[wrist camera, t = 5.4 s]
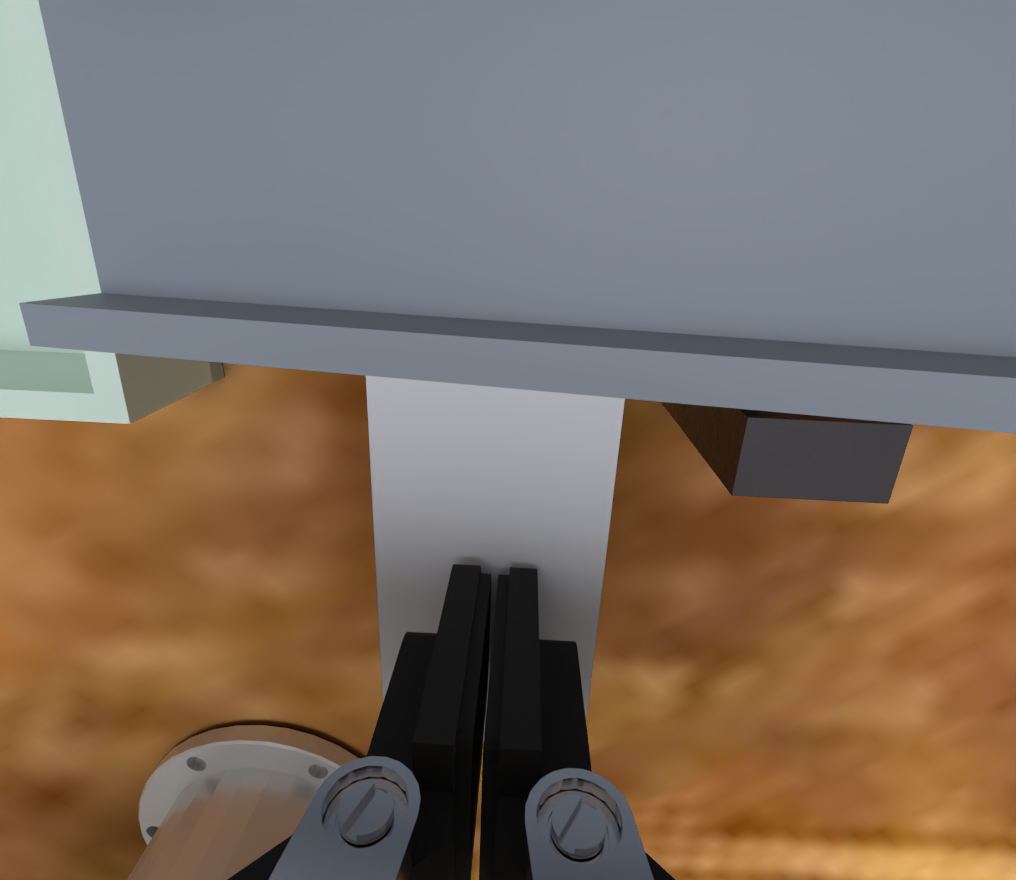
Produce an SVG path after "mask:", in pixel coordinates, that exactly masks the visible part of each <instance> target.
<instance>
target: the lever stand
mask: <svg viewBox="0 0 1016 880" xmlns="http://www.w3.org/2000/svg"><path fill="white" fill-rule="evenodd" d="M662 404H663V405H664V406H665V408H666V409H667V410H668V412H669V413H670V414H671V416H672V417H673V418H674V420H675V421H676V422H677V424H678V425H679V426H680V427H681V429H682V430H683V431H684V433H685V434H686V435H687V437H688V438H689V439H690V441H691V442H692V443H693V445H694V446H695V447H696V449H697V450H698V451H699V453H700V454H701V455H702V457H703V458H704V459H705V461H706V462H707V463H708V464H709V466H710V467H711V468H712V470H713V471H714V472H715V474H716V475H717V476H718V478H719V479H720V480H721V482H722V483H723V484H724V486H725V487H726V488H727V490H728V491H729V492H730V494H731V495H732V496H750V497H770V498H789V499H809V500H828V501H848V502H867V503H887V504H888V503H889V500H890V497H891V493H892V490H893V487H894V484H895V481H896V478H897V475H898V472H899V468H900V465H901V462H902V459H903V456H904V453H905V450H906V446H907V443H908V440H909V437H910V434H911V431H912V428H913V425H911V424H905V423H894V422H882V421H871V420H860V419H849V418H837V417H826V416H815V415H804V414H792V413H781V412H770V411H759V410H748V409H736V408H725V407H714V406H703V405H691V404H680V403H669V402H662Z"/></svg>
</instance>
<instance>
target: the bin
mask: <svg viewBox="0 0 1016 880" xmlns="http://www.w3.org/2000/svg"><path fill="white" fill-rule="evenodd" d="M97 293H101V289H100V284H99V280H98V275H97V271H96V266H95V261H94V257H93V252H92V247H91V243H90V238H89V233H88V229H87V224H86V219H85V215H84V210H83V205H82V201H81V196H80V192H79V187H78V182H77V178H76V173H75V168H74V164H73V159H72V154H71V150H70V145H69V140H68V136H67V131H66V127H65V122H64V117H63V113H62V108H61V103H60V99H59V94H58V89H57V85H56V80H55V75H54V71H53V66H52V61H51V57H50V52H49V48H48V43H47V38H46V34H45V29H44V24H43V20H42V15H41V10H40V6H39V1H38V0H0V417H6V418H26V419H45V420H65V421H85V422H105V423H125V424H130V423H132V422H135V421H137V420H139V419H141V418H143V417H145V416H147V415H149V414H151V413H153V412H155V411H157V410H159V409H161V408H163V407H165V406H167V405H169V404H171V403H173V402H175V401H177V400H179V399H181V398H183V397H185V396H187V395H189V394H191V393H193V392H195V391H197V390H199V389H201V388H203V387H205V386H207V385H209V384H211V383H213V382H215V381H217V380H219V379H221V378H223V377H224V372H223V365H222V363H219V362H208V361H197V360H186V359H174V358H163V357H152V356H141V355H129V354H118V353H107V352H96V351H84V350H73V349H62V348H51V347H39V346H30V342H29V339H28V335H27V331H26V327H25V324H24V320H23V316H22V313H21V309H20V305H19V303H23V302H31V301H40V300H48V299H56V298H64V297H73V296H81V295H89V294H97Z"/></svg>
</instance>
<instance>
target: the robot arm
mask: <svg viewBox="0 0 1016 880" xmlns="http://www.w3.org/2000/svg"><path fill="white" fill-rule="evenodd" d="M490 607H491V574H488V573H481V566H480V565H462V564H453V566H452V570H451V574H450V578H449V583H448V587H447V592H446V596H445V600H444V605H443V609H442V614H441V618H440V622H439V627H438V631H437V633H421V632H406V633H405V635H404V637H403V640H402V643H401V646H400V650H399V653H398V656H397V659H396V663H395V666H394V669H393V673H392V676H391V679H390V682H389V686H388V689H387V692H386V695H385V699H384V702H383V705H382V708H381V712H380V715H379V718H378V721H377V725H376V728H375V731H374V734H373V738H372V741H371V744H370V747H369V751H368V754H367V757H364V758H360V759H359V758H358V757H356V756H355V755H353V754H351V753H350V752H348V751H347V750H345V749H343V748H342V747H340V746H338V745H336V744H334V743H331V742H329V741H327V740H324V739H322V738H320V737H317V736H315V735H312V734H308V733H304V732H301V731H297V730H293V729H290V728H282V727H275V726H267V725H237V726H231V727H225V728H219V729H213V730H210V731H207V732H204V733H202V734H199V735H196V736H193V737H191V738H189V739H187V740H186V741H184V742H183V743H181V744H179V745H178V746H176V747H174V748H173V749H172V750H171V751H170V752H169V753H168V754H167V755H166V756H165V757H164V758H163V759H162V760H161V761H160V763H159V764H158V766H157V767H156V769H155V770H154V772H153V773H152V775H151V776H150V778H149V779H148V781H147V782H146V784H145V786H144V788H143V791H142V794H141V796H140V799H139V811H138V818H139V824H140V829H141V832H142V836H143V838H144V840H145V842H146V844H147V847H146V849H145V851H144V852H143V854H142V855H141V857H140V859H139V860H138V862H137V864H136V865H135V867H134V868H133V870H132V872H131V873H130V875H129V876H128V878H127V880H471V869H472V858H473V847H474V836H475V825H476V814H477V803H478V792H479V781H480V770H481V759H482V748H483V737H484V748H483V771H482V804H481V837H480V870H479V880H675V879H674V878H673V877H672V876H671V875H669V874H668V873H667V872H666V871H665V870H664V869H663V868H662V867H661V866H660V865H659V864H658V863H657V862H655V861H654V860H653V859H652V858H651V857H650V856H649V855H648V854H647V853H646V852H645V851H644V848H643V844H642V841H641V838H640V835H639V832H638V829H637V826H636V823H635V820H634V817H633V814H632V811H631V809H630V807H629V805H628V803H627V801H626V799H625V797H624V796H623V795H622V794H621V793H620V791H619V790H618V789H617V788H616V787H615V786H614V785H613V784H612V783H611V782H609V781H608V780H606V779H605V778H603V777H602V776H600V775H599V774H596V773H593V772H592V771H591V762H590V753H589V745H588V736H587V727H586V718H585V710H584V701H583V692H582V683H581V675H580V666H579V657H578V649H577V644H576V641H560V640H542V639H539V610H538V571H537V569H533V568H514V567H510V572H509V575H503V574H498V583H497V595H496V606H495V618H494V629H493V640H492V652H491V663H490V675H489V686H488V668H489V637H490ZM487 691H488V698H487ZM486 704H487V709H486ZM485 715H486V720H485ZM484 726H485V732H484Z"/></svg>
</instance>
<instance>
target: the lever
mask: <svg viewBox="0 0 1016 880" xmlns="http://www.w3.org/2000/svg"><path fill="white" fill-rule="evenodd" d="M38 1H39V6H40V10H41V15H42V20H43V24H44V29H45V34H46V38H47V43H48V48H49V52H50V57H51V61H52V66H53V71H54V75H55V80H56V85H57V89H58V94H59V99H60V103H61V108H62V113H63V117H64V122H65V127H66V131H67V136H68V140H69V145H70V150H71V154H72V159H73V164H74V168H75V173H76V178H77V182H78V187H79V192H80V196H81V201H82V205H83V210H84V215H85V219H86V224H87V229H88V233H89V238H90V243H91V247H92V252H93V257H94V261H95V266H96V271H97V275H98V280H99V284H100V289H101V293H97V294H89V295H81V296H73V297H64V298H56V299H48V300H40V301H31V302H23V303H19V305H20V309H21V313H22V316H23V320H24V324H25V327H26V331H27V335H28V339H29V342H30V346H39V347H51V348H62V349H73V350H84V351H96V352H107V353H118V354H129V355H141V356H152V357H163V358H174V359H186V360H197V361H208V362H219V363H230V364H242V365H253V366H264V367H275V368H287V369H298V370H309V371H320V372H332V373H343V374H354V375H365V376H366V389H367V408H368V427H369V446H370V465H371V484H372V503H373V522H374V541H375V560H376V579H377V598H378V617H379V636H380V655H381V675H382V694H383V702H384V699H385V695H386V692H387V689H388V686H389V682H390V679H391V676H392V673H393V669H394V666H395V663H396V659H397V656H398V653H399V650H400V646H401V643H402V640H403V637H404V635H405V633H406V632H421V633H437V631H438V627H439V622H440V618H441V614H442V609H443V605H444V600H445V596H446V592H447V587H448V583H449V578H450V574H451V570H452V566H453V564H462V565H480V566H481V573H488V574H491V607H490V637H489V668H488V686H489V675H490V663H491V652H492V640H493V629H494V618H495V606H496V595H497V583H498V574H503V575H509V572H510V567H514V568H533V569H537V571H538V610H539V639H542V640H560V641H576V644H577V649H578V657H579V666H580V675H581V683H582V692H583V701H584V710H585V718H587V709H588V701H589V693H590V684H591V676H592V668H593V660H594V651H595V643H596V635H597V626H598V618H599V610H600V601H601V593H602V585H603V576H604V568H605V560H606V551H607V543H608V535H609V526H610V518H611V510H612V502H613V493H614V485H615V477H616V468H617V460H618V452H619V443H620V435H621V427H622V418H623V410H624V402H625V399H635V400H646V401H658V402H669V403H680V404H691V405H703V406H714V407H725V408H736V409H748V410H759V411H770V412H781V413H792V414H804V415H815V416H826V417H837V418H849V419H860V420H871V421H882V422H894V423H905V424H916V425H927V426H939V427H950V428H961V429H972V430H984V431H995V432H1006V433H1016V0H38ZM487 698H488V691H487ZM486 709H487V704H486ZM485 720H486V715H485ZM484 732H485V726H484ZM483 743H484V737H483Z"/></svg>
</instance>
